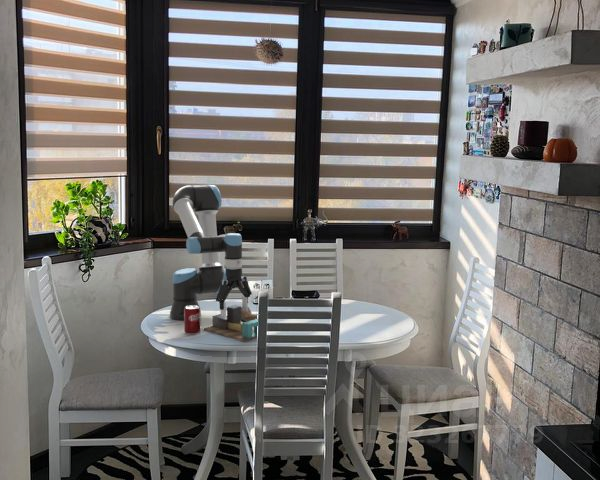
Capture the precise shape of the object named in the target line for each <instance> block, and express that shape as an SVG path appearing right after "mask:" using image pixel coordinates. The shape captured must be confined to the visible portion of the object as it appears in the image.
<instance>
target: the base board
mask: <svg viewBox="0 0 600 480" xmlns="http://www.w3.org/2000/svg"><path fill="white" fill-rule="evenodd" d="M203 331H204V332H210V333H213V334H216V335H219V336H224V337H226V338H230V339H232V340H233V339H234V340H238V341H240V342H244V343H246V342H248V341H252V340H255V339H258V338H257V336H255V337H252V338H249V339H247V338H244V337H242V331H241V332H240V331H237V330H233V329H228V330H223V329H220V328H216V327H213V325H211V326H206V327H203ZM253 333H254V328H252V334H253Z"/></svg>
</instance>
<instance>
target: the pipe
mask: <svg viewBox="0 0 600 480" xmlns="http://www.w3.org/2000/svg"><path fill="white" fill-rule="evenodd" d="M257 315H258V314H257V313H256V314H255V313H254V314H253V312H252V310H251V309H250V307H249V306H248V311H243V310H242V306H241V321H244V322H248V321H251V320H255V319H257Z"/></svg>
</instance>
